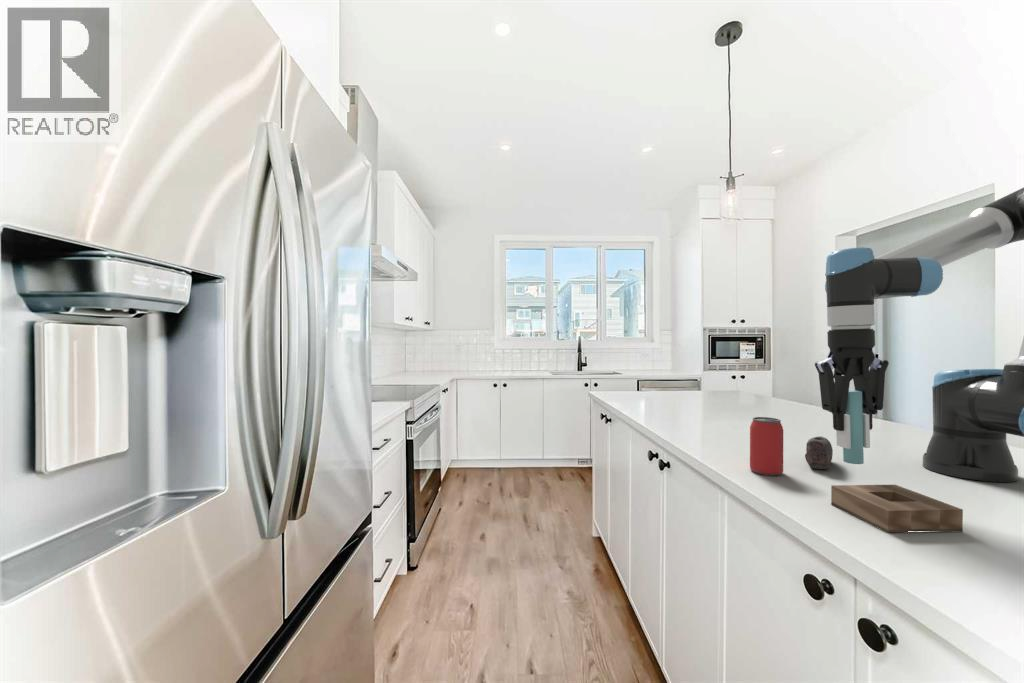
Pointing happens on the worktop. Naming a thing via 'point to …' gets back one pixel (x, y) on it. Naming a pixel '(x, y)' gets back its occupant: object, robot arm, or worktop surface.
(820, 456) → the perforated stone tool
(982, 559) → the worktop surface
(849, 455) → the pin
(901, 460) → the worktop surface
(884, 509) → the board
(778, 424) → the beer can
